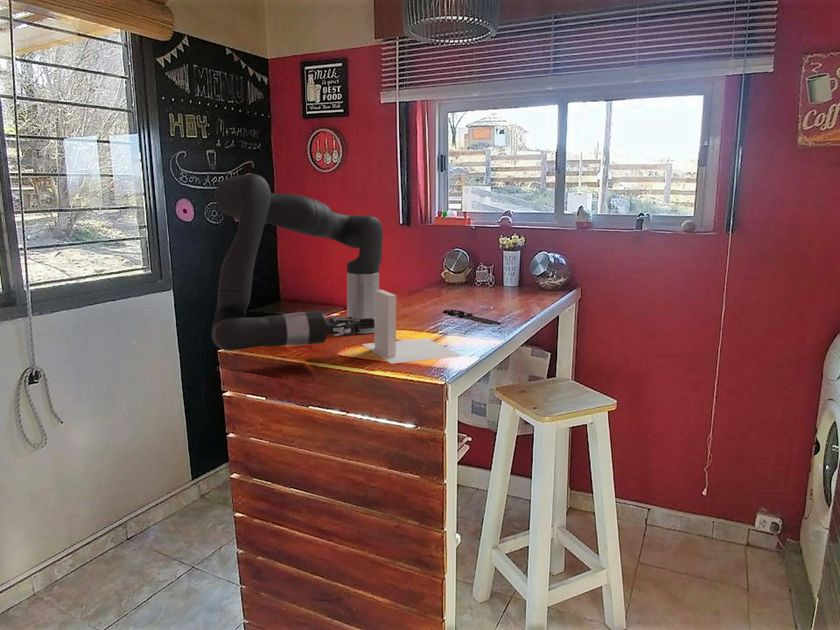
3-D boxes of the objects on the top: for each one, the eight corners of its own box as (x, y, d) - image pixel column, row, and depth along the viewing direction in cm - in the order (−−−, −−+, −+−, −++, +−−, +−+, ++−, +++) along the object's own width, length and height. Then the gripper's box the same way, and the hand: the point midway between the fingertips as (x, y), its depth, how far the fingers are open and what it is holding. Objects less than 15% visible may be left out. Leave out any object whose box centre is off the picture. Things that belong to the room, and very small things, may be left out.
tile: (374, 348, 153) (374, 290, 150) (382, 347, 154) (382, 289, 151) (387, 357, 145) (388, 295, 142) (395, 356, 146) (396, 295, 143)
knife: (504, 326, 189) (504, 321, 189) (488, 328, 186) (488, 323, 186) (455, 312, 210) (455, 308, 210) (440, 314, 206) (440, 309, 206)
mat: (361, 347, 158) (361, 344, 158) (426, 340, 166) (426, 338, 166) (390, 366, 140) (391, 363, 140) (462, 358, 148) (462, 355, 148)
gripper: (310, 318, 133) (383, 312, 140) (295, 307, 145) (364, 303, 152) (311, 350, 135) (383, 343, 142) (296, 338, 146) (364, 332, 154)
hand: (373, 322), depth 147 cm, fingers closed
